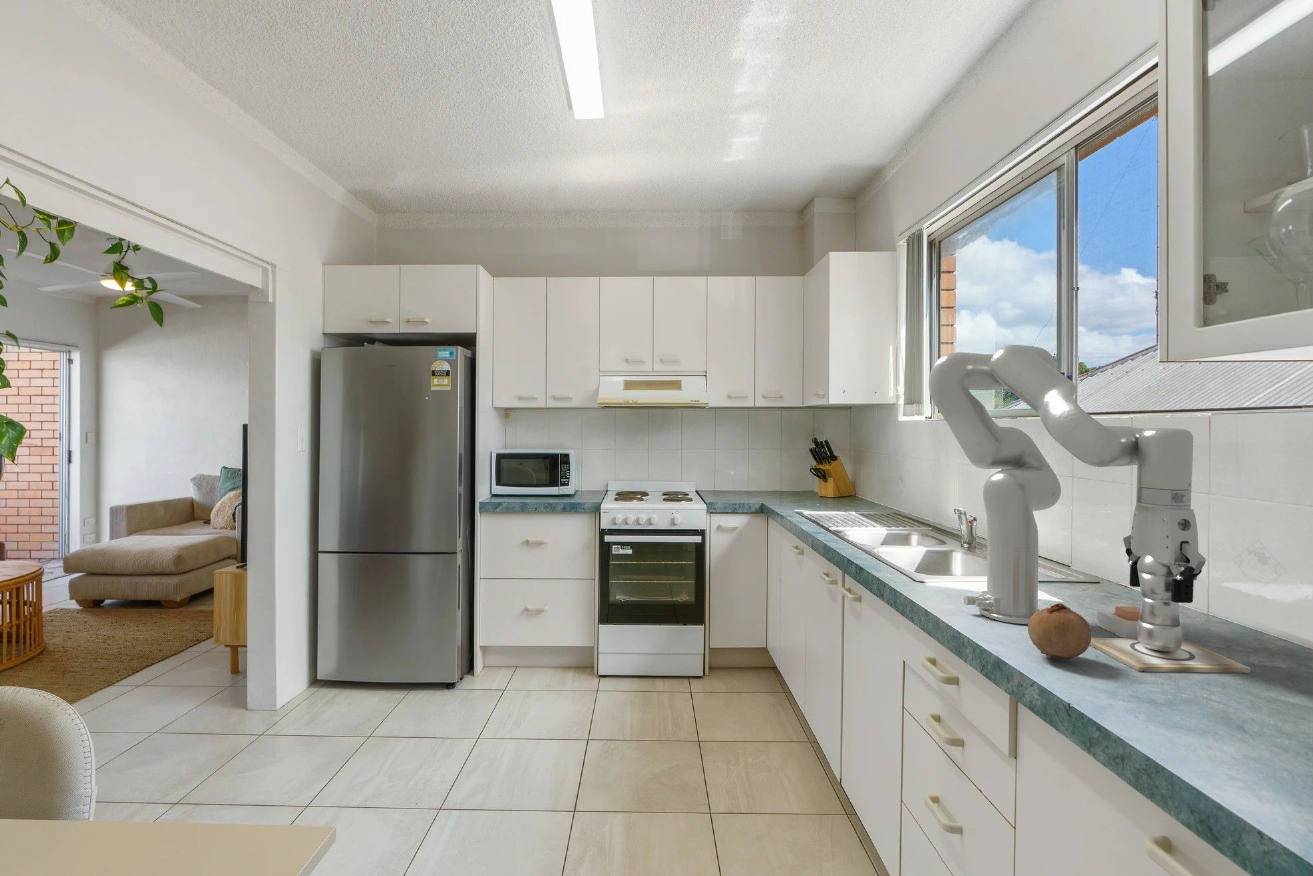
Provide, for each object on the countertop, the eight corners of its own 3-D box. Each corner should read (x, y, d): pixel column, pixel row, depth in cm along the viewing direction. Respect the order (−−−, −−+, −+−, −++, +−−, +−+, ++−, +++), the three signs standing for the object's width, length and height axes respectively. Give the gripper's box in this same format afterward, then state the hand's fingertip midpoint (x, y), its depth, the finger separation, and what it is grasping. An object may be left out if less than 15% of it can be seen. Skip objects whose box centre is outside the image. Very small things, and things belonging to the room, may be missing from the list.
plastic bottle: (1145, 654, 109) (1147, 539, 109) (1129, 641, 115) (1130, 533, 115) (1190, 658, 107) (1192, 541, 107) (1171, 645, 113) (1172, 535, 113)
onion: (1069, 674, 103) (1070, 613, 103) (1015, 655, 112) (1016, 599, 111) (1103, 664, 107) (1104, 606, 107) (1049, 646, 116) (1049, 593, 115)
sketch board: (1138, 671, 104) (1138, 665, 104) (1083, 642, 118) (1084, 636, 118) (1250, 672, 103) (1250, 666, 103) (1182, 643, 117) (1182, 637, 117)
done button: (1128, 626, 122) (1128, 611, 122) (1115, 620, 125) (1115, 606, 125) (1148, 626, 122) (1148, 612, 122) (1134, 620, 125) (1134, 606, 125)
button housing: (1125, 638, 120) (1125, 623, 120) (1097, 625, 128) (1097, 610, 128) (1168, 639, 119) (1168, 623, 119) (1137, 625, 127) (1137, 611, 127)
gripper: (1228, 505, 101) (1224, 609, 102) (1148, 492, 119) (1145, 581, 119) (1180, 505, 102) (1176, 608, 102) (1107, 491, 119) (1104, 580, 120)
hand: (1159, 594), depth 111 cm, fingers open, 9 cm apart
